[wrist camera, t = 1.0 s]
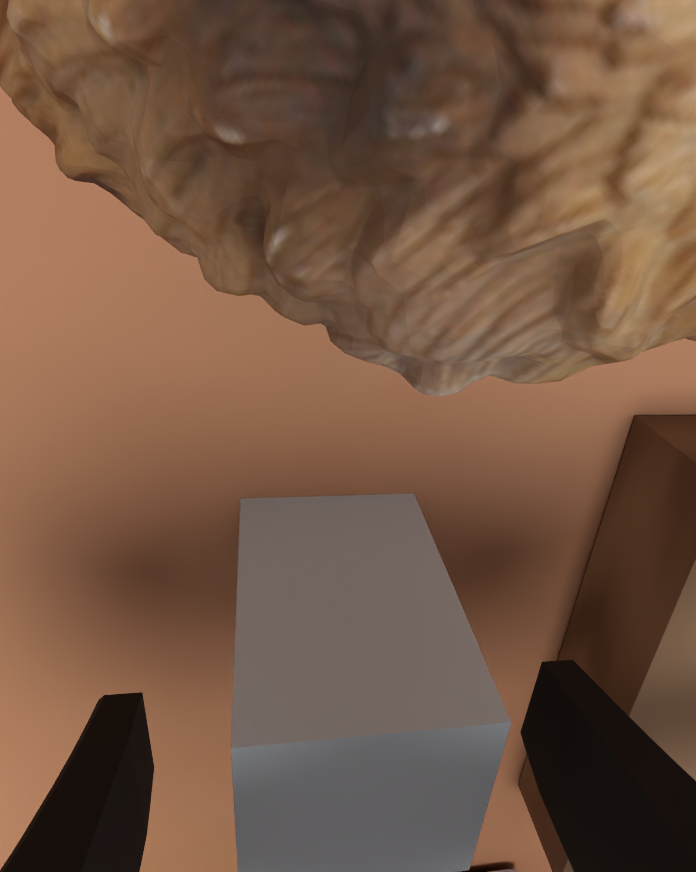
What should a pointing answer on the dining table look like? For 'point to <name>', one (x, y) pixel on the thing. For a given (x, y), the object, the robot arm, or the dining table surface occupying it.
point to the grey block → (356, 693)
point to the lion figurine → (396, 164)
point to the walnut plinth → (640, 602)
